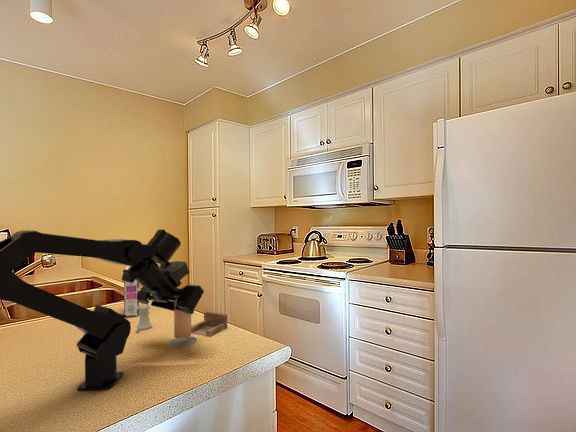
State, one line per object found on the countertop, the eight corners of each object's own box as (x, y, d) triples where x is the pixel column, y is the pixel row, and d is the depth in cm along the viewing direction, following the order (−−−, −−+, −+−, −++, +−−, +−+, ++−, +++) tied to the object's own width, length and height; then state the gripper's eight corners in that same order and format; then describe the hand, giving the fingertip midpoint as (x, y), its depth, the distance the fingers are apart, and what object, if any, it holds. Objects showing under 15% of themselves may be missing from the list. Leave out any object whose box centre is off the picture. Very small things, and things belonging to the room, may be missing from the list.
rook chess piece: (146, 334, 96) (146, 307, 96) (133, 333, 97) (132, 306, 97) (155, 329, 100) (155, 303, 100) (142, 328, 101) (142, 302, 101)
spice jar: (189, 338, 85) (189, 296, 85) (171, 338, 84) (171, 296, 85) (193, 332, 89) (193, 292, 89) (176, 332, 89) (176, 292, 89)
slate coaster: (193, 350, 84) (193, 345, 84) (165, 351, 83) (165, 346, 83) (199, 340, 91) (199, 335, 91) (173, 341, 90) (173, 336, 90)
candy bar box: (139, 316, 114) (139, 269, 114) (123, 318, 112) (123, 270, 112) (139, 308, 124) (139, 265, 124) (125, 310, 122) (124, 266, 122)
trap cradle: (209, 340, 90) (209, 322, 90) (188, 335, 94) (187, 318, 94) (227, 331, 97) (227, 314, 97) (206, 327, 101) (206, 311, 101)
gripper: (198, 253, 79) (226, 289, 89) (145, 250, 88) (177, 284, 97) (173, 292, 72) (207, 326, 82) (119, 285, 81) (155, 317, 90)
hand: (186, 311), depth 88 cm, fingers closed on spice jar, 4 cm apart
